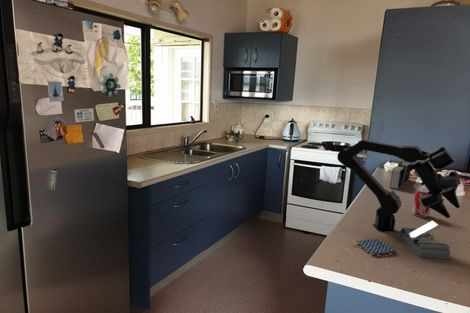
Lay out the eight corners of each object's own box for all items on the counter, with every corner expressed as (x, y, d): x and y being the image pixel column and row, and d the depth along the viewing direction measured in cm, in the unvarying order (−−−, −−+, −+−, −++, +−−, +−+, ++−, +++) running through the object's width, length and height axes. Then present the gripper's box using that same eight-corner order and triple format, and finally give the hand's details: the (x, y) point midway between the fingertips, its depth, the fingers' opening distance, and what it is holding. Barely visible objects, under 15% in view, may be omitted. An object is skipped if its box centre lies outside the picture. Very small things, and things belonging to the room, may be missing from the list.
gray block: (413, 241, 124) (411, 239, 124) (408, 237, 128) (406, 234, 128) (440, 227, 123) (438, 224, 123) (434, 223, 127) (432, 220, 126)
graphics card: (402, 178, 230) (405, 157, 227) (410, 180, 227) (413, 158, 224) (389, 189, 204) (392, 165, 201) (397, 190, 201) (401, 166, 198)
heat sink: (418, 257, 119) (420, 244, 118) (398, 237, 134) (400, 226, 134) (448, 259, 119) (451, 246, 118) (425, 238, 134) (427, 227, 133)
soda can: (411, 216, 159) (415, 190, 157) (412, 211, 165) (415, 187, 163) (429, 219, 156) (433, 193, 153) (429, 214, 162) (433, 189, 160)
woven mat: (373, 259, 117) (374, 254, 116) (354, 245, 127) (354, 240, 126) (399, 256, 120) (400, 251, 119) (378, 243, 130) (379, 238, 129)
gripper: (437, 175, 119) (465, 215, 116) (457, 159, 130) (484, 195, 127) (410, 187, 127) (435, 225, 124) (431, 171, 138) (455, 205, 135)
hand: (453, 212), depth 127 cm, fingers open, 9 cm apart
